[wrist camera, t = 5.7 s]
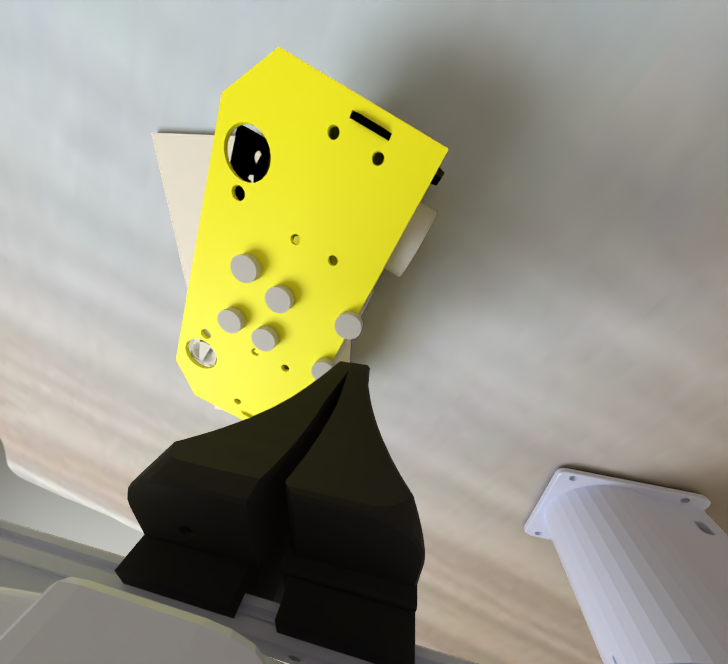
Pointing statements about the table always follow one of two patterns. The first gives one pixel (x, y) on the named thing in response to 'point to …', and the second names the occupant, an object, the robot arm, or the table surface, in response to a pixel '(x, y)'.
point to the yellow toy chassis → (297, 231)
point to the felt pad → (192, 192)
